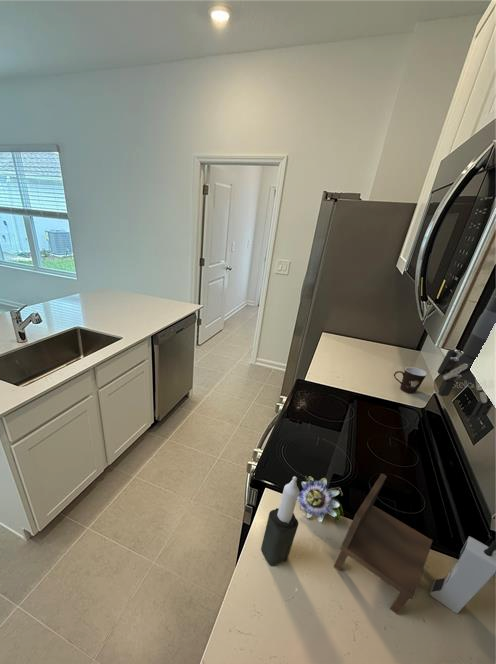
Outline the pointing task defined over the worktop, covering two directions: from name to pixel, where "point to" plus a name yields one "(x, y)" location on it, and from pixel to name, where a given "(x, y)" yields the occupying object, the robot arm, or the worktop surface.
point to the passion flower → (319, 499)
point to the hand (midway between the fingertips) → (458, 405)
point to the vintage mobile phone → (466, 575)
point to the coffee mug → (411, 379)
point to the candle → (281, 527)
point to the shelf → (386, 548)
